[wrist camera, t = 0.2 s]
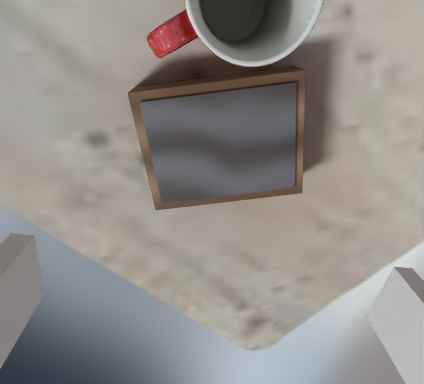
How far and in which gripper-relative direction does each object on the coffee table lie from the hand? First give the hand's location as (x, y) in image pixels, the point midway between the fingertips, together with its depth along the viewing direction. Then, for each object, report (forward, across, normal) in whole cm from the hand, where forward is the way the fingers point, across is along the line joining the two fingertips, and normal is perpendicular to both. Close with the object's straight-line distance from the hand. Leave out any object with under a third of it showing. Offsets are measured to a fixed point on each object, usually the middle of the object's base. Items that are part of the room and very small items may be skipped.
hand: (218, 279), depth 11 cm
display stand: (+27, +2, -3) cm, 28 cm away
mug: (+28, 0, +10) cm, 29 cm away
